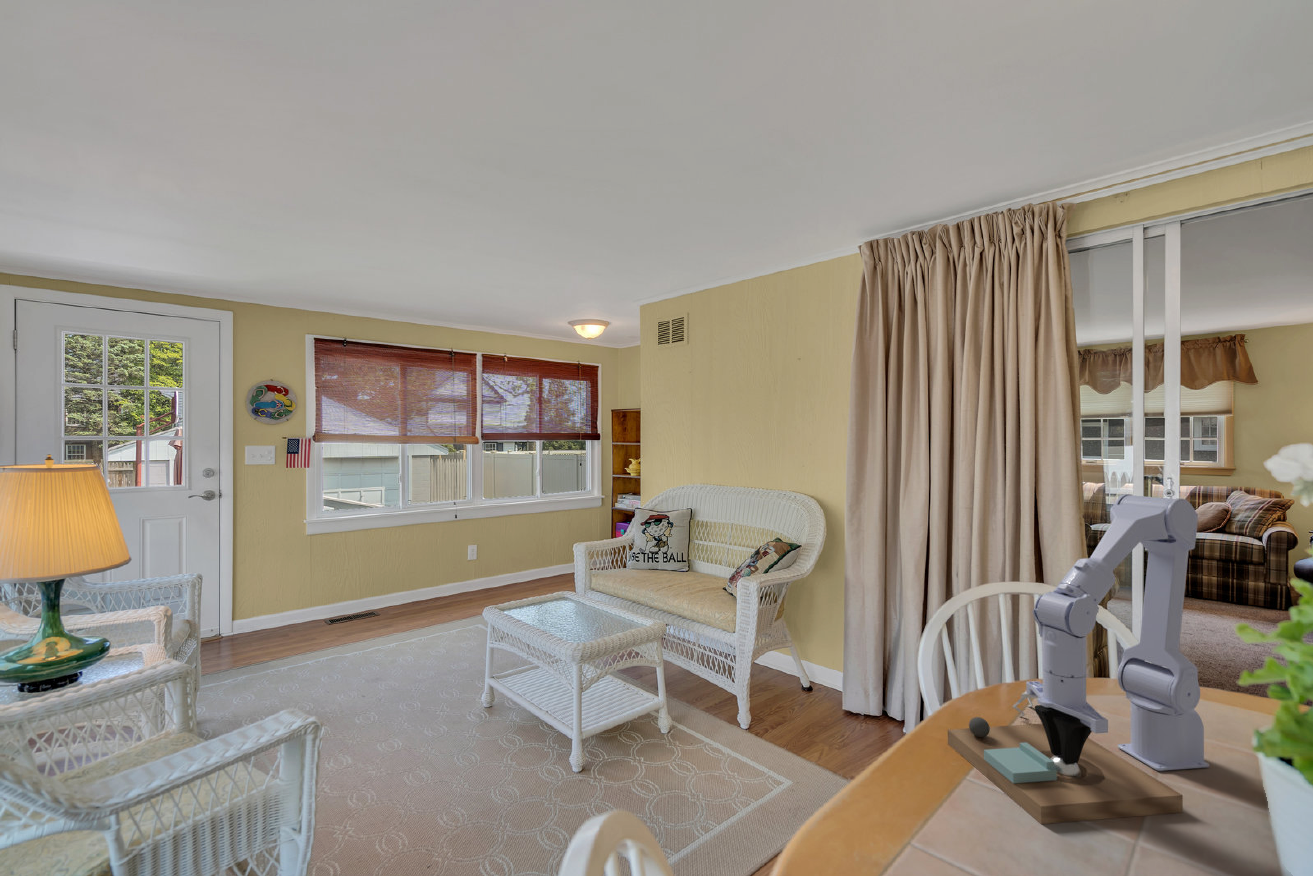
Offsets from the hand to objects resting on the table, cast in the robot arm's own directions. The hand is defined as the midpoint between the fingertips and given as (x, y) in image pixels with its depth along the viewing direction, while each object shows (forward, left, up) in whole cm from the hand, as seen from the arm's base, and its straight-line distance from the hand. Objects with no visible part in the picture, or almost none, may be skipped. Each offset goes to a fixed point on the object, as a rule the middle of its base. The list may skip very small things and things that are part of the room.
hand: (1064, 758), depth 98 cm
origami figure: (-13, -23, -4) cm, 27 cm away
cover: (+8, 0, -1) cm, 8 cm away
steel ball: (0, 0, -2) cm, 2 cm away
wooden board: (0, -3, -4) cm, 5 cm away
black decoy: (+7, -11, 0) cm, 13 cm away
